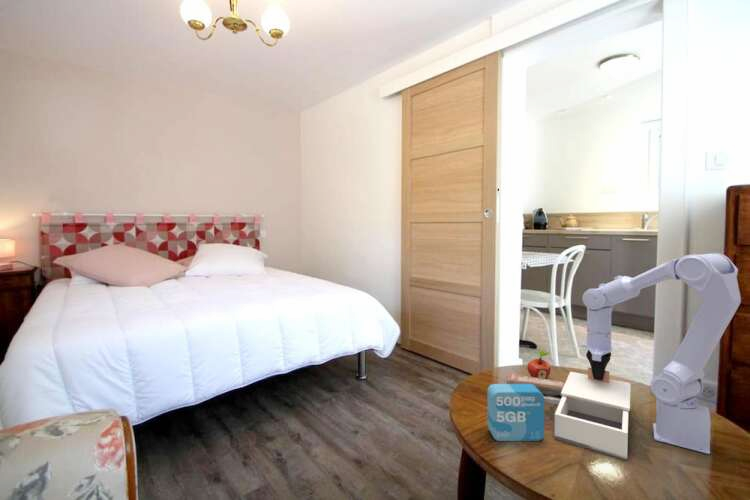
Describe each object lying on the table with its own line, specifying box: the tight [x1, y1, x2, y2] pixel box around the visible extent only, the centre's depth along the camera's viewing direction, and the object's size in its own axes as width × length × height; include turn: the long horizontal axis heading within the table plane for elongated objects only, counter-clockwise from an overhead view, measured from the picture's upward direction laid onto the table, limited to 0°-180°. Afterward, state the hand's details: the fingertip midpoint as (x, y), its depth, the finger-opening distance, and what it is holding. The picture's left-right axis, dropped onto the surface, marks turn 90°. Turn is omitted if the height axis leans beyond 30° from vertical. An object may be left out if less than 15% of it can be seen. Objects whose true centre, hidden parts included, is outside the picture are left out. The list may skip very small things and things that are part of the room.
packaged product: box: [506, 373, 565, 406], centre depth 105 cm, size 18×5×10 cm
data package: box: [486, 383, 545, 442], centre depth 84 cm, size 12×4×12 cm, turn 88°
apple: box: [526, 349, 551, 379], centre depth 114 cm, size 8×7×10 cm
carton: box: [554, 396, 629, 461], centre depth 85 cm, size 14×16×6 cm
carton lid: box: [561, 367, 632, 412], centre depth 93 cm, size 15×17×3 cm
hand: (598, 378), depth 98 cm, fingers closed on carton lid
